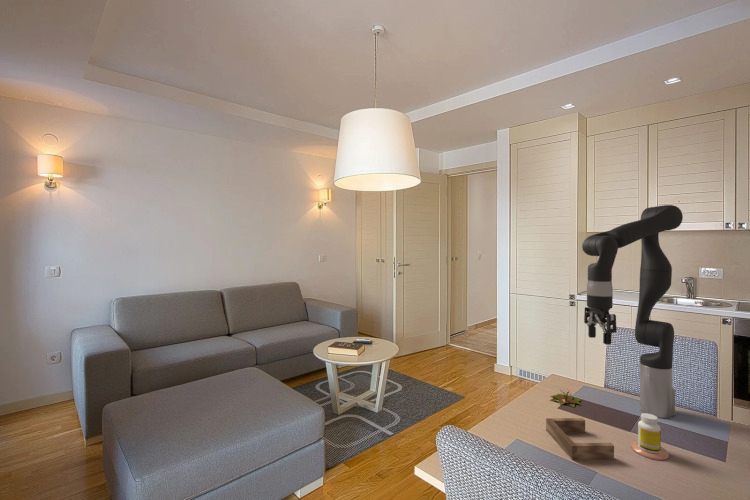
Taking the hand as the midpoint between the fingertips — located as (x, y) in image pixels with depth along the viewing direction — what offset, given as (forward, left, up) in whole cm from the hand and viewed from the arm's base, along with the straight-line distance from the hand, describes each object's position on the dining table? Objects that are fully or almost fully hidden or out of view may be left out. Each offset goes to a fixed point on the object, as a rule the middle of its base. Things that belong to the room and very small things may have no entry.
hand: (599, 340), depth 125 cm
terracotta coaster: (-4, +18, -28) cm, 34 cm away
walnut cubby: (+15, +14, -28) cm, 35 cm away
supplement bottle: (-4, +18, -28) cm, 33 cm away
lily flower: (+3, -16, -29) cm, 33 cm away
